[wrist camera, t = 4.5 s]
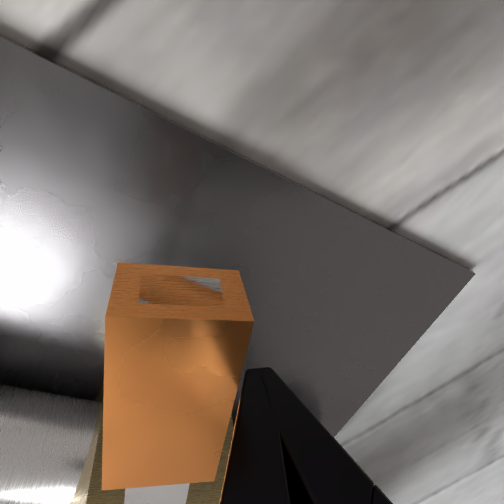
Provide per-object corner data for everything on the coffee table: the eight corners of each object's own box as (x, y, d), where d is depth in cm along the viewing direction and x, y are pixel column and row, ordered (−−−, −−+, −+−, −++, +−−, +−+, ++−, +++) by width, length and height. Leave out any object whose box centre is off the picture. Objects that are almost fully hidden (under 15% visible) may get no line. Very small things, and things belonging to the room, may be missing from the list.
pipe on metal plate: (470, 269, 20) (606, 371, 14) (270, 503, 27) (299, 635, 21) (-58, 6, 11) (-370, -49, 4) (-136, 467, 18) (-290, 680, 12)
